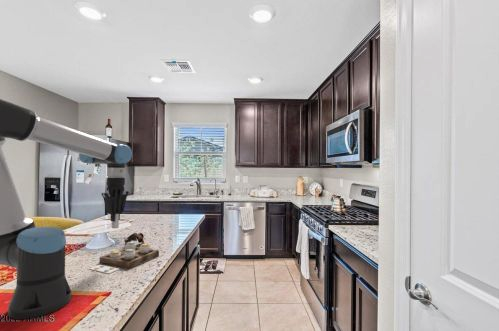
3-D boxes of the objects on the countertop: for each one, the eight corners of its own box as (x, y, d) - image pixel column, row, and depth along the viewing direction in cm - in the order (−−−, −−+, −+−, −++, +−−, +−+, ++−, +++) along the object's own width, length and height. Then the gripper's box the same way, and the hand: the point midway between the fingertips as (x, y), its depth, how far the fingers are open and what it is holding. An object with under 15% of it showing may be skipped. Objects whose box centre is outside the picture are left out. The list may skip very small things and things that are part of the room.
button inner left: (114, 262, 114) (114, 254, 114) (107, 260, 116) (107, 252, 116) (122, 258, 118) (122, 251, 118) (115, 257, 120) (116, 250, 120)
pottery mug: (141, 249, 135) (133, 237, 133) (127, 256, 136) (118, 244, 135) (151, 238, 147) (143, 226, 145) (138, 244, 148) (130, 233, 147)
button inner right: (129, 260, 111) (129, 252, 111) (121, 258, 112) (122, 250, 112) (137, 257, 115) (137, 249, 115) (130, 255, 116) (130, 248, 116)
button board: (128, 268, 108) (128, 262, 108) (99, 262, 115) (99, 257, 115) (158, 255, 124) (158, 250, 124) (131, 250, 131) (131, 246, 131)
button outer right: (144, 254, 119) (145, 246, 119) (137, 252, 121) (137, 245, 121) (151, 251, 123) (151, 243, 123) (144, 250, 125) (145, 242, 125)
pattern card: (109, 273, 102) (109, 272, 102) (88, 269, 107) (88, 268, 107) (119, 269, 107) (119, 268, 107) (99, 265, 112) (99, 264, 112)
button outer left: (130, 251, 122) (130, 244, 123) (124, 250, 124) (124, 243, 124) (137, 248, 127) (138, 241, 127) (131, 247, 128) (131, 240, 128)
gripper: (109, 177, 110) (108, 231, 110) (133, 177, 122) (132, 225, 122) (97, 177, 113) (96, 230, 112) (122, 176, 125) (121, 224, 124)
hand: (115, 227), depth 117 cm, fingers closed
